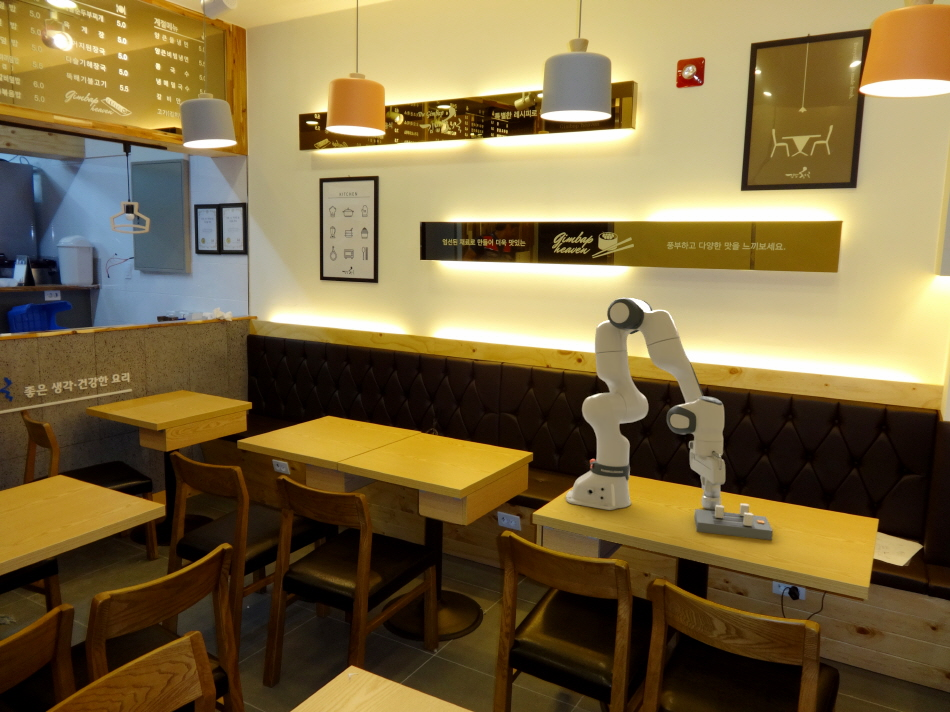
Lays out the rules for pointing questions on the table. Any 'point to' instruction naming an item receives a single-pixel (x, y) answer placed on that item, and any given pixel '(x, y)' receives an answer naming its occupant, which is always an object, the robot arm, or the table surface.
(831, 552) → the table surface
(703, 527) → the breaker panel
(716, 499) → the plastic bottle
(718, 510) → the block
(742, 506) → the block
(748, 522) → the block
